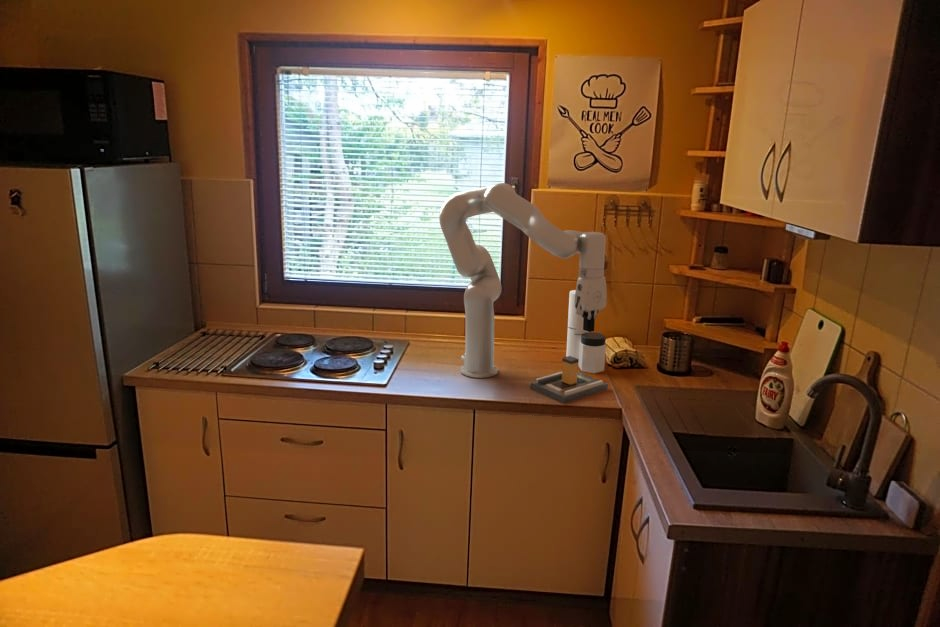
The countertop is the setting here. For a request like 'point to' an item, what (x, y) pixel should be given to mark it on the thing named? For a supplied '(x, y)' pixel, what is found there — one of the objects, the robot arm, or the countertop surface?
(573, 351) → the cylindrical container
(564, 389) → the panel
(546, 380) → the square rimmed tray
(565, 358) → the lever
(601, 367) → the jar
